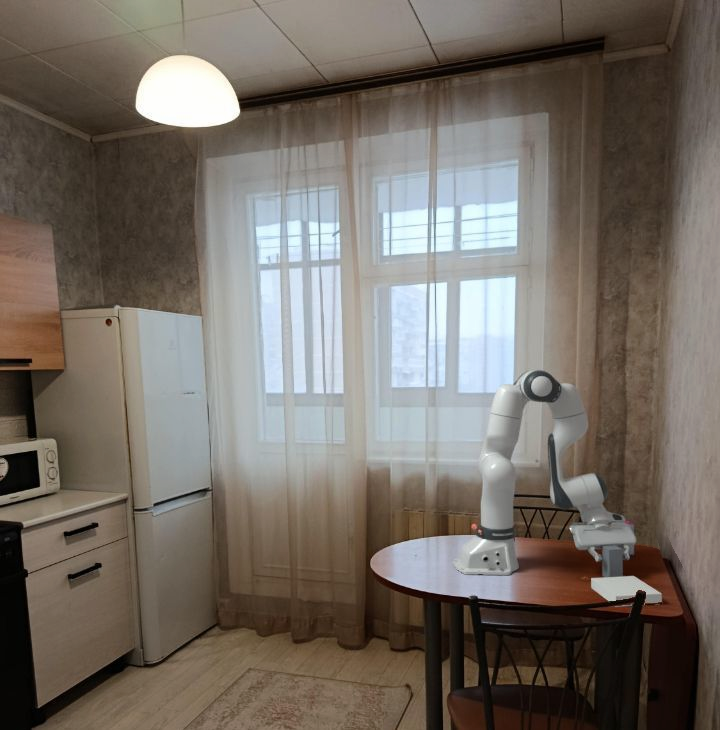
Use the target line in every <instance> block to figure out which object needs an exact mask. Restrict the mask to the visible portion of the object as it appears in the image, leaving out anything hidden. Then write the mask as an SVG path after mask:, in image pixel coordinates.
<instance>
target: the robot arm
mask: <svg viewBox="0 0 720 730" xmlns="http://www.w3.org/2000/svg"><path fill="white" fill-rule="evenodd" d="M529 402H538V403H546V404H547V405H548V407H549V410H550V414H551V417H552V421H553V426H552V427H553V428H552V431H551V433H550V434H548V436H547V457H548V458H547V459H548V470H549V471H548V472H549V494H550V495H549V496H550V500H551V502H552V504H553V505H554V506H555V507H556V508H559V509H561V510H562V511H563V510H564V511H566V510H569V509H573V508H575V507H576V508H577V510H578V511H579V514H580V519H581V521H582V522H572V523H571V524H570V526H569V530H570V533H571V535H572V537H573V542H574V544H575V548H576V549H577V550H579V551H588V553H589V554H590V555H591V556H592V557H593V558H594V559H595V561H596V563H597V562H602V553H601V554H599V553H598V552H597V551H595V550H602V545H616V546H618V547H619V548H622V550H623V551H624V553H623V555H622V559H623V561H629V560H630V556H629V554H628V550H629V548H631V547H633V546H634V547H635V545H636V544H637V538H636V535H635V532H634V533H633V531H632V529H631V528H630V526H629V525H628V524H627V523H624V522H625V521H626V518H625V516H624V515H622V514H619V513H618V514H617V513H613V512H610V511H607V509H606V508H605V506H604V504H603V502H605V501H606V499H607V497H608V495H609V489H608V487H607V485H606V482H605V480H604V478H603V477H602V476H600V475H599V474H597V473H595V472H594V473H593V472H590V473H586V474H580V475H578V476H573V477H568V478H564V476H563V463H562V462H563V461H562V456H563V453H564V452H565V451H566V450H567V449H568V448H570V446H572V445H573V444H575V443H576V442H578V441H579V440H580V439H581V438H583V437H584V435H585V434H586V433H587V431H588V429H589V421H588V415H587V412H586V407H585V405H584V402H583V399H582V396H581V395H580V393H579V391H578V389H577V387H576V386H575V385H574V384H571V383H567V382H563V383H561V382H559V381H558V380H557V379H556V378H555V377H554V376H553V375H552V374H550V373H549V372H547V371H545V370H542V369H531V370H527V371H525V372H523V373H522V374H521V375H520V376H519V377H518V378H517V380H515V382H514V383H513V384H511V383H508V384H503V385H500V386H499V387H498V388H497V389H496V391H495V393H494V397H493V399H492V402H491V406H490V412H489V416H488V422H487V427H486V433H485V436H484V440H483V443H482V445H481V446H482V447H481V450H480V454H479V456H478V457H479V458H478V462H477V472H478V473H479V476H480V477H481V478H482V490H481V499H480V524H479V525H477V524H476V523H473V524H472V525H471V529H472V530H473V531H474V532H475V535H474V536H473V537H471V538H470V539H469V540H467V541H466V542H465V543H463V544H462V546H461V548H460V550H459V557H456V558H454V559H453V563H452V564H454V565H453V567H454V566H455V567H456V568H455V567H454V568H455V569H456V570H457V571H458V570H459V571H458V572H459V573H461V572H462V573H461V574H464V575H478V574H483V575H484V576H485V575H488V576H491V575H494V576H510V575H511V574H512V573H513V572H515V571H517V570H519V568H520V563H519V561H518V558H517V552H516V546H515V542H516V530H515V527H516V526H515V525H514V497H515V492H516V491H515V489H516V481H517V471H516V468H515V465H514V464H513V462H512V458H513V453H514V450H515V447H516V446H517V443H518V442H519V437H520V431H521V425H522V420H523V415H524V409H525V407H526V405H527V404H528V403H529Z"/></svg>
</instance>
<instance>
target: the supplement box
mask: <svg viewBox="0 0 720 730" xmlns="http://www.w3.org/2000/svg"><path fill="white" fill-rule="evenodd" d="M624 523H627V524H628V525H629V526H630V528H631V529H632V531H633V533H634V534H635V531H634V530H635V525H634V524H633V523H632V522H631V521H630V520H625V522H624ZM621 549H622V548H621ZM623 553H624V551H623V550H622V555H623ZM628 554H629V556H631V557H634V555H635V545H634V546H633V547H631V548H629V550H628Z"/></svg>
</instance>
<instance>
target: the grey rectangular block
mask: <svg viewBox="0 0 720 730" xmlns="http://www.w3.org/2000/svg"><path fill="white" fill-rule="evenodd" d="M601 557H602V560H601V573H602V575H601V576H602V577H603V578H605V577H623V576H624V575H623V574H624V573H623V572H624V570H623V569H624V566H623V565H624V564H623V563H624V562H623V561H624V560H623V557H622V549H621V548H619V547H618V546H616V545H602V549H601Z"/></svg>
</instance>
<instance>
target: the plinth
mask: <svg viewBox="0 0 720 730" xmlns="http://www.w3.org/2000/svg"><path fill="white" fill-rule="evenodd" d="M590 580H591V581H590V585H591V586H590V588H591V589H592V590H593V591H594V592H596V593H597V594H599V595H600V596H601V597H603V598H604V599H605V600H607V601H608V602H609V601H616V600H623V599H629V598H632V597H635V595H636V592H637V591H638V590H642V591H645V592H646V599H645V603H658V602H662V603H663V593H661V591H658V590H657V589H655V588H653V587H652V586H650V585H648V584H647V583H645V582H644V581H642V580H641V579H639V578H638V577H636V576H634V575H627V576H626V575H623V577H591V578H590ZM645 603H644V605H643V606H646V605H645ZM615 607H616V608H619V607H633V606H632V604H631V605H622V606H615Z"/></svg>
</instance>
